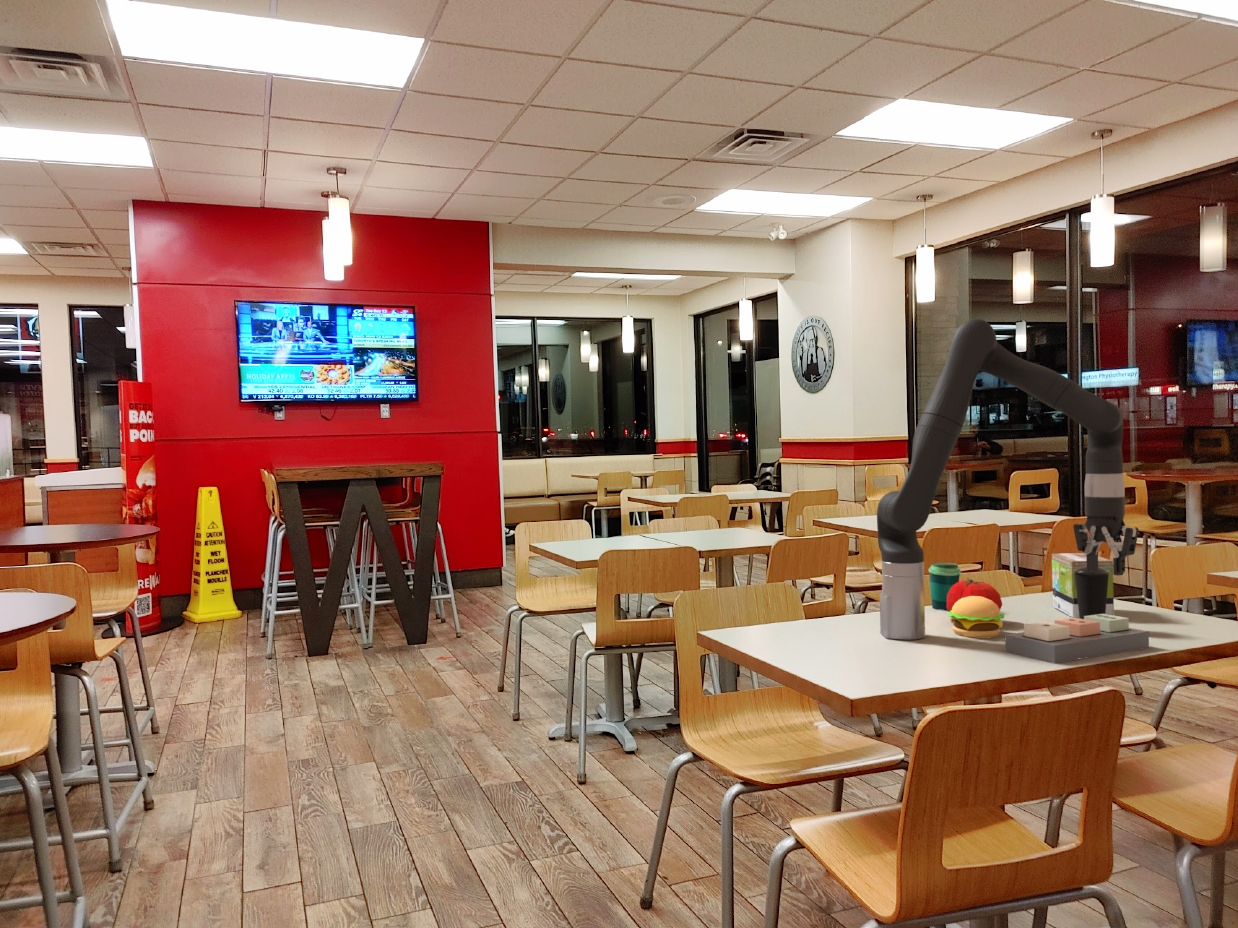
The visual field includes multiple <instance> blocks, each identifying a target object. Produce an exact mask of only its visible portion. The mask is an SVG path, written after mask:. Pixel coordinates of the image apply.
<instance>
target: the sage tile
mask: <svg viewBox="0 0 1238 928" xmlns="http://www.w3.org/2000/svg"><path fill="white" fill-rule="evenodd" d="M1084 619H1085V620H1090V621H1096V622H1100V630H1101V631H1106V632H1114V631H1121V630H1128V629H1129V628H1130V626H1129V625H1130V623H1129V621H1130V619H1129V617H1123V616H1120V615H1119V616H1118V615H1115V614H1114V615H1108V614H1097V615H1090V616H1084Z"/></svg>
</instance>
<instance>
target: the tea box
mask: <svg viewBox="0 0 1238 928" xmlns="http://www.w3.org/2000/svg"><path fill="white" fill-rule="evenodd" d="M1082 566H1087V555H1086V554H1085V552H1080V553H1079V552H1071V553H1069V552H1068V553H1051V577H1052V607H1053V608H1054V609H1057V610H1059V611H1060V612H1062V613H1063V614H1066V615H1067V616H1069V617H1070V616H1071V617H1070V618H1079V609H1078V601H1077V592H1076V583H1075V574H1074V573H1073V570H1074V569H1077V568H1079V567H1082ZM1098 567H1101V568H1104V569H1105V570H1108V571H1110V574H1109V578H1108V589H1107V601H1106V612H1105V614H1108V615H1114V616H1115V603H1114V602H1115V600H1114V599H1115V597H1114V596H1115V595H1114V594H1115V593H1114V573H1113V560H1111V559H1108V558H1106V557H1102V556H1099V555H1098ZM1079 619H1080V618H1079Z"/></svg>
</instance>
